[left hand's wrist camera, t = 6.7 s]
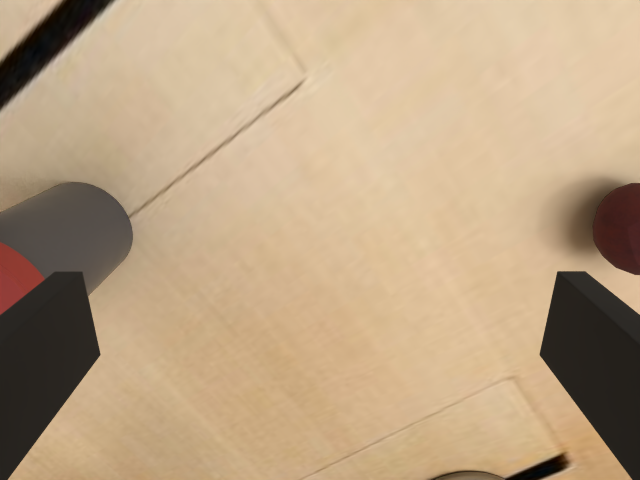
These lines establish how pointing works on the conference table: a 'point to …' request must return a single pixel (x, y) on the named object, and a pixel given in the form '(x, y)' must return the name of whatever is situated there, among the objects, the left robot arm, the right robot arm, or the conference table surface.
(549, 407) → the conference table surface
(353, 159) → the conference table surface
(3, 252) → the lid
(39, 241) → the jar
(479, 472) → the right robot arm
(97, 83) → the conference table surface
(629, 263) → the dark red ball
